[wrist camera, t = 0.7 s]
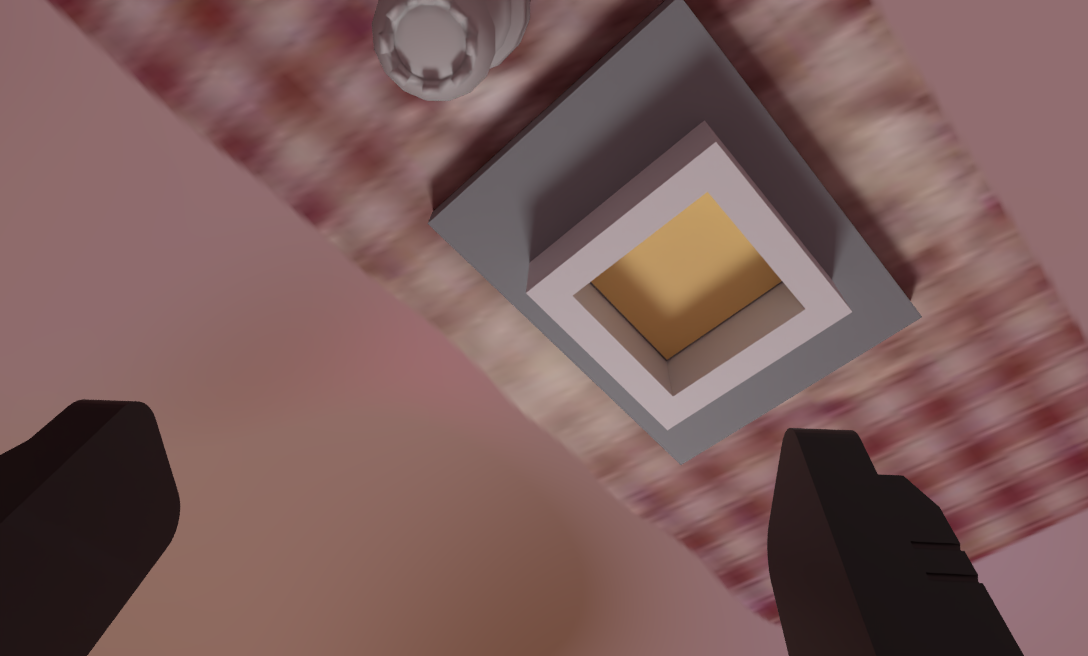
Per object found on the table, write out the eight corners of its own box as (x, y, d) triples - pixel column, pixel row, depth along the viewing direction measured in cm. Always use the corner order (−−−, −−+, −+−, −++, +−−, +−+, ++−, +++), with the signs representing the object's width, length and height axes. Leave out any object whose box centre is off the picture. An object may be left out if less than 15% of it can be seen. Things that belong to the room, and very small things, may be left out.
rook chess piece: (483, -103, 24) (446, -96, 17) (556, 22, 26) (550, 74, 19) (375, -22, 25) (301, 15, 18) (452, 92, 27) (412, 164, 20)
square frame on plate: (432, 211, 30) (415, 251, 26) (675, -10, 25) (690, 6, 22) (677, 448, 35) (688, 503, 32) (910, 302, 31) (948, 350, 28)
